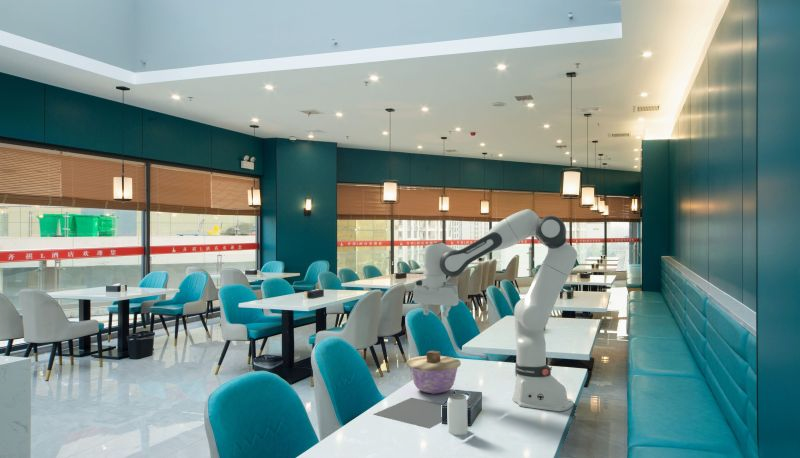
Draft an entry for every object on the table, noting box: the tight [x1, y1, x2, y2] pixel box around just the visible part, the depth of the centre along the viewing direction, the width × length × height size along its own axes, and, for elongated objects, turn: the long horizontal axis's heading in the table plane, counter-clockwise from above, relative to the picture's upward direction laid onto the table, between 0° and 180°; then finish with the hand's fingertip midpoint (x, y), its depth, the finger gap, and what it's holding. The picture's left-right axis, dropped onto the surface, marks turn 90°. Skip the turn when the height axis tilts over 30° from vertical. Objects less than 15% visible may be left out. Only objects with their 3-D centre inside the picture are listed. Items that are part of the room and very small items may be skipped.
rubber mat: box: [372, 397, 443, 429], centre depth 197 cm, size 24×24×1 cm
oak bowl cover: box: [406, 350, 462, 371], centre depth 223 cm, size 22×22×5 cm
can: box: [446, 393, 468, 436], centre depth 178 cm, size 6×6×12 cm
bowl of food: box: [409, 367, 459, 394], centre depth 223 cm, size 20×20×12 cm
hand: (435, 315), depth 224 cm, fingers open, 8 cm apart
